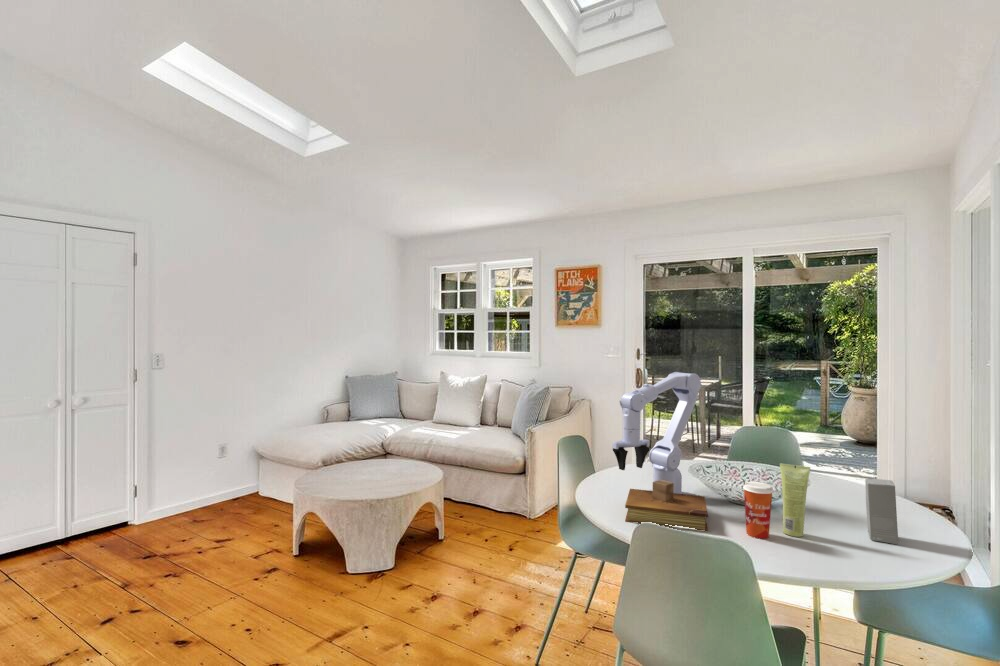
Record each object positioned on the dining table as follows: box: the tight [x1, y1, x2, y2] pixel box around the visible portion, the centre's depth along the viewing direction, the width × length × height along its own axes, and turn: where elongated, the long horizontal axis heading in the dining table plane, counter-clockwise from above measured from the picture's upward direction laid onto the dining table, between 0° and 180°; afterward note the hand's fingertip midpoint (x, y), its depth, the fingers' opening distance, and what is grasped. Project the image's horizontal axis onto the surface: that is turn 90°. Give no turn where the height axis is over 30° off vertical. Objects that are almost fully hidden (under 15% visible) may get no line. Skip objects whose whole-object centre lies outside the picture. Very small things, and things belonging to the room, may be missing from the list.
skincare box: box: [864, 477, 899, 546], centre depth 144 cm, size 8×7×16 cm
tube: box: [779, 462, 811, 538], centre depth 146 cm, size 6×5×20 cm
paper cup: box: [742, 481, 775, 540], centre depth 145 cm, size 8×8×14 cm
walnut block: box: [652, 480, 674, 502], centre depth 161 cm, size 4×4×5 cm
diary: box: [624, 488, 709, 532], centre depth 159 cm, size 23×19×6 cm
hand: (630, 468), depth 175 cm, fingers open, 7 cm apart
